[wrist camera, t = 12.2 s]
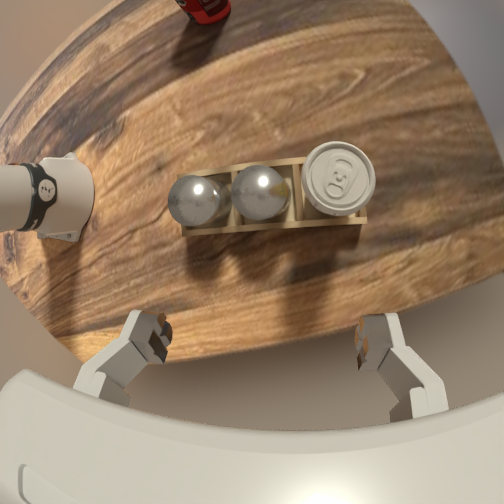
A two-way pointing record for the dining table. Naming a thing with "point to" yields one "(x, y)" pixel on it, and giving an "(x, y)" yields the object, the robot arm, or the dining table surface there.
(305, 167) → the beer can
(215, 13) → the canned food
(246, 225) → the compartment tray
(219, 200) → the seated canisters
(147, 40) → the dining table surface
